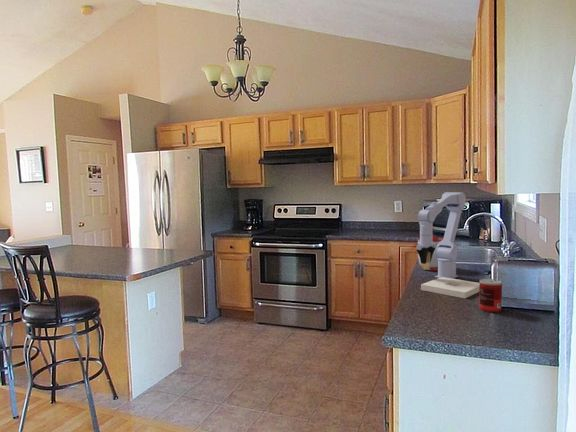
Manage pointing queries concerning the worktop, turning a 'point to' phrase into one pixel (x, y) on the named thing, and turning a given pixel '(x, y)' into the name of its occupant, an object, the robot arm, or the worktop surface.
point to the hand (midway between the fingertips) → (425, 262)
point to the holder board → (451, 287)
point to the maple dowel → (427, 263)
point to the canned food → (490, 295)
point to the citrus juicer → (434, 260)
